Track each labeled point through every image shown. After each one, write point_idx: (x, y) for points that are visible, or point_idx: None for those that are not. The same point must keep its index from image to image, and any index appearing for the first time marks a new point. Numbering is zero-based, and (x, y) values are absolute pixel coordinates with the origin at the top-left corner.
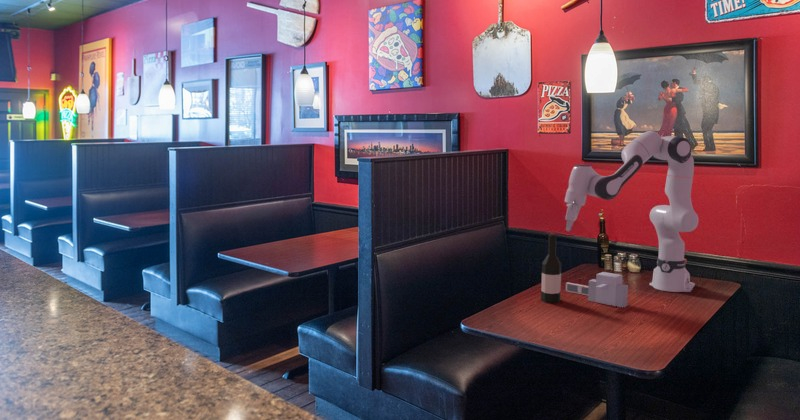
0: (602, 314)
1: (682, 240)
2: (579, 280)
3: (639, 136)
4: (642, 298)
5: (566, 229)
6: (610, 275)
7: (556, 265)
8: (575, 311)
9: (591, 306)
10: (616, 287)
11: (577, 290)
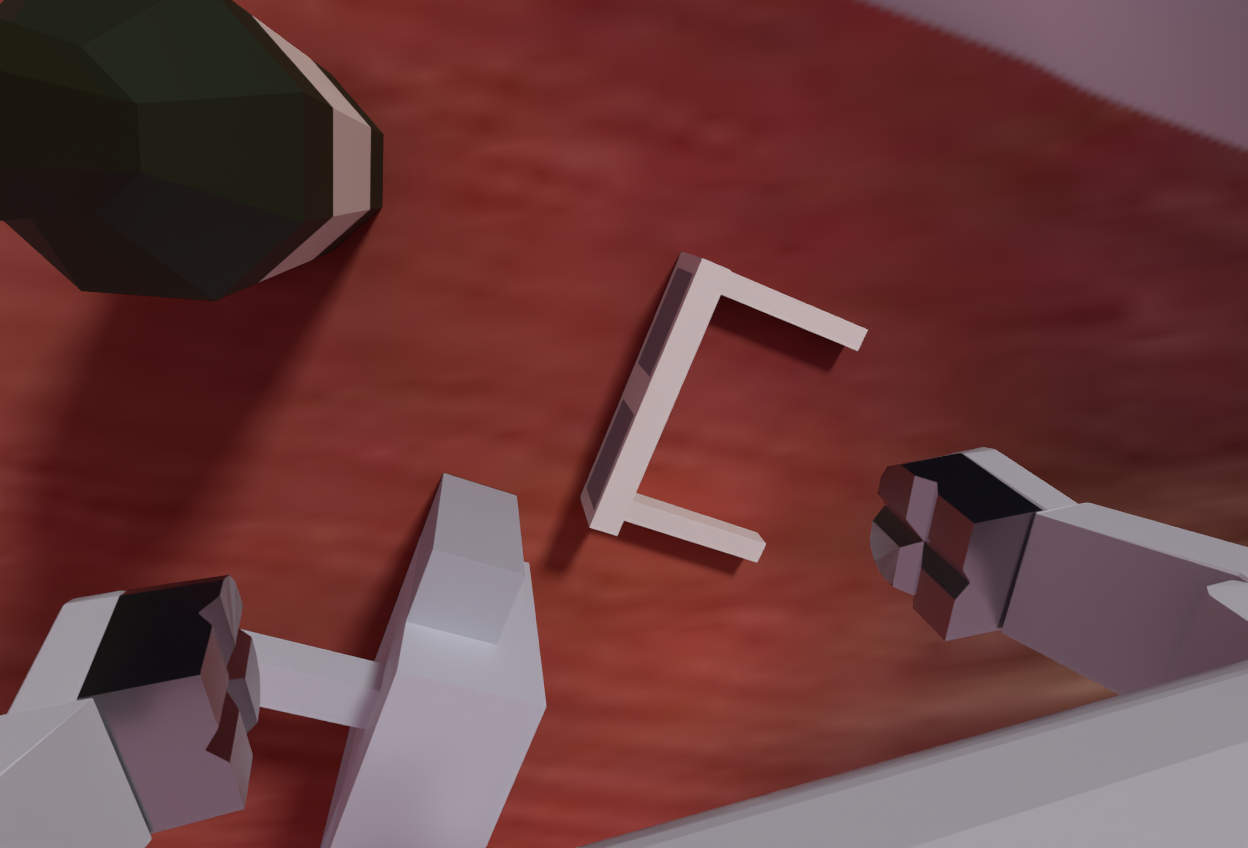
0: None
1: None
2: (1076, 314)
3: None
4: (666, 792)
5: (65, 644)
6: (400, 798)
7: (30, 243)
8: (40, 429)
9: (276, 523)
10: (342, 787)
11: (641, 366)
